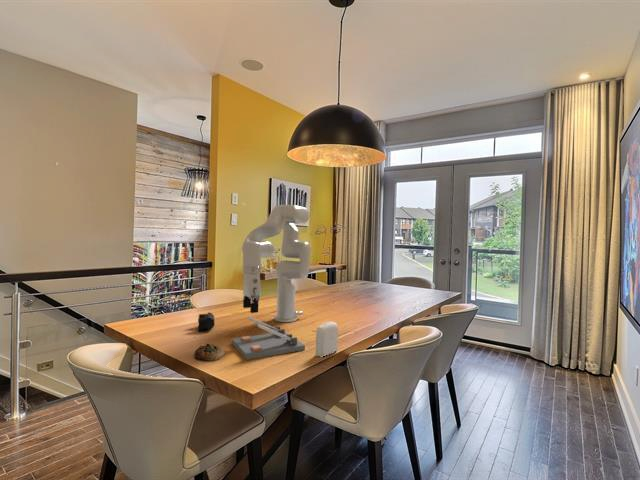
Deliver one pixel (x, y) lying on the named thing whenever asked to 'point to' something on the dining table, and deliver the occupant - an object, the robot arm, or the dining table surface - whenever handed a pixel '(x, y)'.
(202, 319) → the end cap
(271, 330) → the strap
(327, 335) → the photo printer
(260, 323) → the strap
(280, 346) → the clamp board
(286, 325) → the dining table surface
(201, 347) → the bread roll
